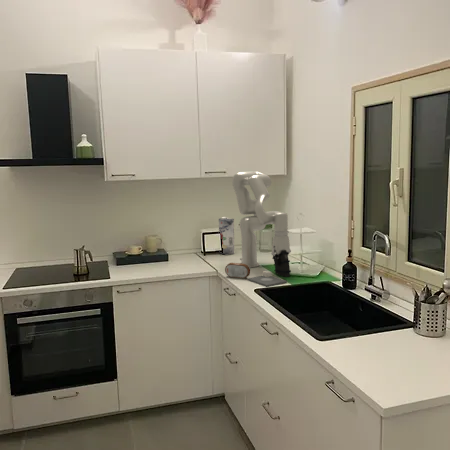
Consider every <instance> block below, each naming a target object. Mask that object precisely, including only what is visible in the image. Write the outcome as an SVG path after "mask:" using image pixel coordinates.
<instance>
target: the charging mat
mask: <svg viewBox="0 0 450 450" xmlns="http://www.w3.org/2000/svg"><path fill="white" fill-rule="evenodd" d="M246 278H247V279H246V280H247V281H249V282H252V283H255V284H256V285H257V284H258V285H260V286H263V287H265V288H268V287H273V286H278V285H283V284H287V283H288V280H285V279H282V278H280V277H275V276H273V275H272V271H270V270H264V271H262V275H258V276H253V277H246Z"/></svg>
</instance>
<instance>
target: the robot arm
mask: <svg viewBox="0 0 450 450" xmlns="http://www.w3.org/2000/svg"><path fill="white" fill-rule="evenodd" d="M246 186H249V187H250V190H251V191H252V193H253V195H254V198H255V199H254V198H251V194H250V191H249V190H248V188H247V187H246ZM271 186H272V179H271V177H270V176H269V175H268V174H266V173H262V172H260V171H239V172H236V173H235V174H234V175H233V177H232V187H233V190H234V192H235V195H236V200H237V205H238V209H239V213H240V214H241V215H243V216H244V215H245V216H244V217H242V218H241V219H240V221H239V228H240V234H241V236H240V237H241V257H240V258H239V261H241V262H240V263H241V264H246V265H247V266H248V267H249V268H257V267H259V266H260V263H259V262H258V249H257V246H258V244H257V242H258V241H257V239H258V238H257V236H256V234H255V231H262V230H264V229H265V228H266V226H267V225H274V236H273V238H272V244H271V245H272V246H271V253H270V254H271V256H272V257H273V256H274V257H275V258H276V265H280V259H279V258H280V253H281V251H283V250H286V251H287V252H288V253H287V255H288V256H289V254H290V253H291V252H292V250H291V248H290V247H291V246H290V245H291V244H290V236H289V233H290V231H289V230H288V228H289V227H288V221H289V218H288V215H289V214H288V213H287V212H285V211H284V212H283V211H278V210H271V211H265V209H264V206H263V203H264V202H266V201H267V200H269V198H270V193H269V191H268V188H270V187H271ZM247 215H248V216H247ZM249 215H250V216H249ZM277 254H278V256H277Z"/></svg>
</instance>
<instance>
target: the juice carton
mask: <svg viewBox="0 0 450 450" xmlns="http://www.w3.org/2000/svg"><path fill="white" fill-rule="evenodd" d="M219 231H220V235H221V239H222V248H223V253H221V252H220V251H219V254H221V255H224V256H228V255H234V254H235V218H230V217H226V216H222V217H221V218H218V232H219Z"/></svg>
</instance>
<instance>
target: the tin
mask: <svg viewBox="0 0 450 450" xmlns="http://www.w3.org/2000/svg"><path fill="white" fill-rule="evenodd" d="M241 263H242V262H229V263H228V264H226V266H225V268H224V271H225V274H226V275H227V276H228V277H229V278H233V279H234V278H235V279H246V278H249V276H250V275H251V269H250V268H251V267H248V266H247V265H246V264H241Z"/></svg>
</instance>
